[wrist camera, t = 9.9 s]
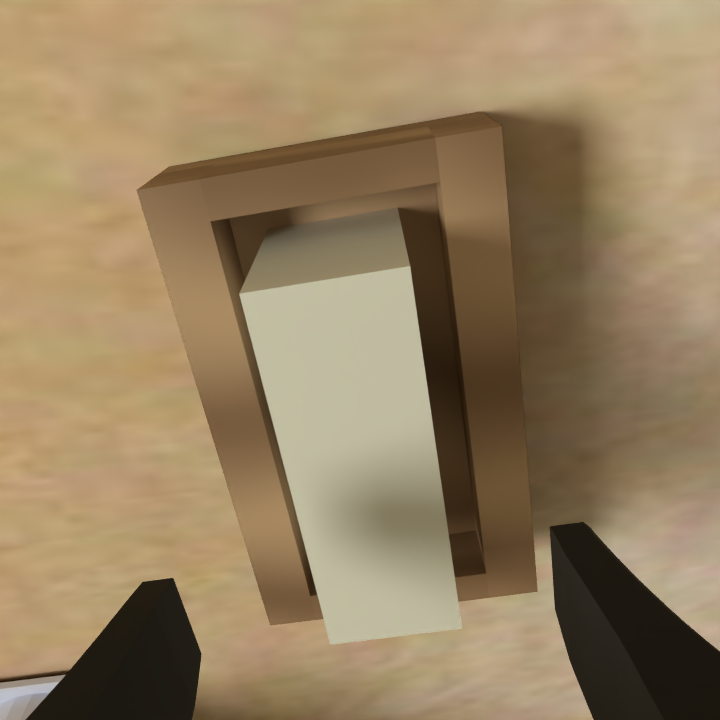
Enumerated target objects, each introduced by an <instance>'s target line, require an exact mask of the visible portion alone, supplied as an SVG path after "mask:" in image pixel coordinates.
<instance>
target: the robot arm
mask: <svg viewBox="0 0 720 720" xmlns="http://www.w3.org/2000/svg"><path fill="white" fill-rule="evenodd" d="M550 538H551V553H552V569H553V585H554V600H555V610H556V614H557V617H558V621H559V625H560V628H561V632H562V635H563V639H564V642H565V646H566V649H567V652H568V656H569V659H570V662H571V665H572V667H573V670H574V672H575V675H576V677H577V680H578V682H579V685H580V687H581V690H582V692H583V695H584V697H585V700H586V702H587V705H588V707H589V709H590V712H591V714H592V717H593V719H594V720H720V651H719V650H717V649H716V648H715V647H714V646H712V645H711V644H710V643H709V642H707V641H706V640H705V639H704V638H703V637H701V636H700V635H699V634H698V633H697V632H696V631H694V630H693V629H692V628H691V627H690V626H688V625H687V624H686V623H685V622H684V621H683V620H681V619H680V618H679V617H678V616H677V615H676V614H675V613H674V612H673V611H671V610H670V609H669V608H668V607H667V606H666V605H665V604H664V603H663V602H662V601H661V600H660V599H659V598H657V597H656V596H655V595H654V594H653V593H652V592H651V591H650V590H649V589H648V588H647V587H646V586H645V585H644V584H643V583H642V582H641V581H640V580H639V579H638V578H637V577H636V576H635V575H634V574H633V573H632V572H631V571H630V570H629V569H628V568H627V567H626V566H625V565H624V564H623V563H622V562H621V561H620V560H619V559H618V558H617V557H616V556H615V555H614V554H613V553H612V552H611V550H610V549H609V548H608V547H607V546H606V545H605V544H604V543H603V542H602V541H601V539H600V538H599V537H598V536H597V535H596V534H595V533H594V532H593V530H592V529H591V528H590V527H589V526H588V525H586V524H585V523H584V522H580V523H573V524H565V525H558V526H551V527H550ZM200 662H201V651H200V649H199V646H198V643H197V641H196V638H195V635H194V633H193V630H192V627H191V625H190V622H189V619H188V617H187V614H186V611H185V609H184V606H183V603H182V600H181V598H180V595H179V592H178V590H177V587H176V584H175V582H174V579H173V578H169V579H161V580H154V581H147V582H142V583H141V585H140V586H139V587H138V588H137V589H136V590H135V592H134V593H133V594H132V595H131V596H130V598H129V599H128V600H127V601H126V603H125V604H124V605H123V606H122V608H121V609H120V610H119V611H118V613H117V614H116V615H115V616H114V617H113V619H112V620H111V621H110V622H109V624H108V625H107V626H106V627H105V629H104V630H103V631H102V632H101V634H100V635H99V636H98V637H97V638H96V640H95V641H94V642H93V643H92V644H91V646H90V647H89V648H88V649H87V650H86V652H85V653H84V654H83V655H82V656H81V658H80V659H79V660H78V661H77V662H76V664H75V665H74V666H73V667H72V668H71V670H70V671H69V672H68V673H67V674H66V675H59V676H51V677H43V678H35V679H27V680H19V681H11V682H3V683H0V720H192V716H193V711H194V707H195V700H196V693H197V686H198V679H199V670H200Z"/></svg>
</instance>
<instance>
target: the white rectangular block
mask: <svg viewBox="0 0 720 720" xmlns="http://www.w3.org/2000/svg"><path fill="white" fill-rule="evenodd" d="M239 295H240V299H241V303H242V307H243V310H244V314H245V318H246V322H247V326H248V330H249V334H250V337H251V341H252V345H253V349H254V353H255V357H256V360H257V364H258V368H259V372H260V376H261V380H262V384H263V387H264V391H265V395H266V399H267V403H268V407H269V411H270V414H271V418H272V422H273V426H274V430H275V434H276V437H277V441H278V445H279V449H280V453H281V457H282V461H283V464H284V468H285V472H286V476H287V480H288V484H289V487H290V491H291V495H292V499H293V503H294V507H295V511H296V514H297V518H298V522H299V526H300V530H301V534H302V537H303V541H304V545H305V549H306V553H307V557H308V561H309V564H310V568H311V572H312V576H313V580H314V584H315V587H316V591H317V595H318V599H319V603H320V607H321V611H322V614H323V618H324V622H325V626H326V630H327V634H328V637H329V641H330V645H332V644H341V643H349V642H357V641H365V640H373V639H381V638H389V637H397V636H405V635H413V634H421V633H429V632H437V631H445V630H453V629H461V628H462V624H461V617H460V610H459V604H458V597H457V590H456V583H455V576H454V569H453V562H452V555H451V548H450V541H449V534H448V527H447V520H446V513H445V506H444V499H443V492H442V485H441V478H440V471H439V464H438V457H437V450H436V443H435V436H434V429H433V422H432V415H431V408H430V401H429V394H428V387H427V380H426V374H425V367H424V360H423V353H422V346H421V339H420V332H419V325H418V318H417V311H416V304H415V297H414V290H413V283H412V276H411V269H410V263H409V259H408V254H407V249H406V245H405V240H404V236H403V231H402V226H401V222H400V217H399V212H398V208H391V209H385V210H379V211H373V212H367V213H361V214H355V215H349V216H343V217H337V218H332V219H326V220H320V221H314V222H308V223H302V224H296V225H290V226H284V227H278V228H272V229H268V231H267V233H266V235H265V237H264V240H263V242H262V244H261V246H260V249H259V251H258V253H257V255H256V257H255V260H254V262H253V264H252V266H251V269H250V271H249V273H248V275H247V277H246V280H245V282H244V284H243V286H242V289H241V291H240V293H239Z"/></svg>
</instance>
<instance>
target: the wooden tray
mask: <svg viewBox="0 0 720 720" xmlns="http://www.w3.org/2000/svg"><path fill="white" fill-rule="evenodd" d="M137 193H138V196H139V199H140V203H141V206H142V209H143V212H144V216H145V219H146V222H147V225H148V229H149V232H150V235H151V238H152V242H153V245H154V248H155V252H156V255H157V258H158V261H159V265H160V268H161V271H162V274H163V278H164V281H165V284H166V287H167V291H168V294H169V297H170V300H171V304H172V307H173V310H174V313H175V317H176V320H177V323H178V326H179V330H180V333H181V336H182V339H183V343H184V346H185V349H186V352H187V356H188V359H189V362H190V365H191V369H192V372H193V375H194V378H195V382H196V385H197V388H198V391H199V395H200V398H201V401H202V404H203V408H204V411H205V414H206V417H207V421H208V424H209V427H210V431H211V434H212V437H213V440H214V444H215V447H216V450H217V453H218V457H219V460H220V463H221V466H222V470H223V473H224V476H225V479H226V483H227V486H228V489H229V492H230V496H231V499H232V502H233V505H234V509H235V512H236V515H237V518H238V522H239V525H240V528H241V531H242V535H243V538H244V541H245V544H246V548H247V551H248V554H249V557H250V561H251V564H252V567H253V570H254V574H255V577H256V580H257V583H258V587H259V590H260V593H261V596H262V600H263V603H264V606H265V610H266V613H267V616H268V619H269V623H270V625H278V624H286V623H294V622H302V621H310V620H318V619H324V618H323V614H322V611H321V607H320V603H319V599H318V595H317V591H316V587H315V584H314V580H313V576H312V572H311V568H310V564H309V561H308V557H307V553H306V549H305V545H304V541H303V537H302V534H301V530H300V526H299V522H298V518H297V514H296V511H295V507H294V503H293V499H292V495H291V491H290V487H289V484H288V480H287V476H286V472H285V468H284V464H283V461H282V457H281V453H280V449H279V445H278V441H277V437H276V434H275V430H274V426H273V422H272V418H271V414H270V411H269V407H268V403H267V399H266V395H265V391H264V387H263V384H262V380H261V376H260V372H259V368H258V364H257V360H256V357H255V353H254V349H253V345H252V341H251V337H250V334H249V330H248V326H247V322H246V318H245V314H244V310H243V307H242V303H241V299H240V295H239V293H240V291H241V289H242V286H243V284H244V282H245V280H246V277H247V275H248V273H249V271H250V269H251V266H252V264H253V262H254V260H255V257H256V255H257V253H258V251H259V249H260V246H261V244H262V242H263V240H264V237H265V235H266V233H267V231H268V229H272V228H278V227H284V226H290V225H296V224H302V223H308V222H314V221H320V220H326V219H332V218H337V217H343V216H349V215H355V214H361V213H367V212H373V211H379V210H385V209H391V208H398V212H399V217H400V222H401V226H402V231H403V236H404V240H405V245H406V249H407V254H408V259H409V263H410V269H411V276H412V283H413V290H414V297H415V304H416V311H417V318H418V325H419V332H420V339H421V346H422V353H423V360H424V367H425V374H426V380H427V387H428V394H429V401H430V408H431V415H432V422H433V429H434V436H435V443H436V450H437V457H438V464H439V471H440V478H441V485H442V492H443V499H444V506H445V513H446V520H447V527H448V534H449V541H450V548H451V555H452V562H453V569H454V576H455V583H456V590H457V597H458V602H459V601H467V600H475V599H483V598H491V597H499V596H507V595H514V594H522V593H530V592H538V591H537V578H536V565H535V552H534V539H533V526H532V513H531V500H530V487H529V474H528V461H527V448H526V435H525V422H524V409H523V396H522V383H521V370H520V357H519V344H518V331H517V318H516V305H515V292H514V279H513V266H512V253H511V240H510V227H509V214H508V201H507V187H506V174H505V161H504V148H503V135H502V126H501V125H499V124H498V123H496V122H495V121H493V120H492V119H491V118H489V117H488V116H486V115H485V114H483V113H482V112H476V113H470V114H464V115H459V116H453V117H447V118H442V119H436V120H431V121H425V122H419V123H414V124H408V125H402V126H397V127H391V128H385V129H380V130H374V131H368V132H363V133H357V134H351V135H346V136H340V137H335V138H329V139H323V140H318V141H312V142H306V143H301V144H295V145H289V146H284V147H278V148H272V149H267V150H261V151H255V152H250V153H244V154H239V155H233V156H227V157H222V158H216V159H210V160H205V161H199V162H193V163H188V164H182V165H176V166H171V167H168V168H166V169H165V170H164V171H162V172H161V173H160V174H158V175H157V176H155V177H154V178H153V179H151V180H150V181H149V182H147V183H146V184H144V185H143V186H142V187H140V188H139V189H138V190H137Z"/></svg>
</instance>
